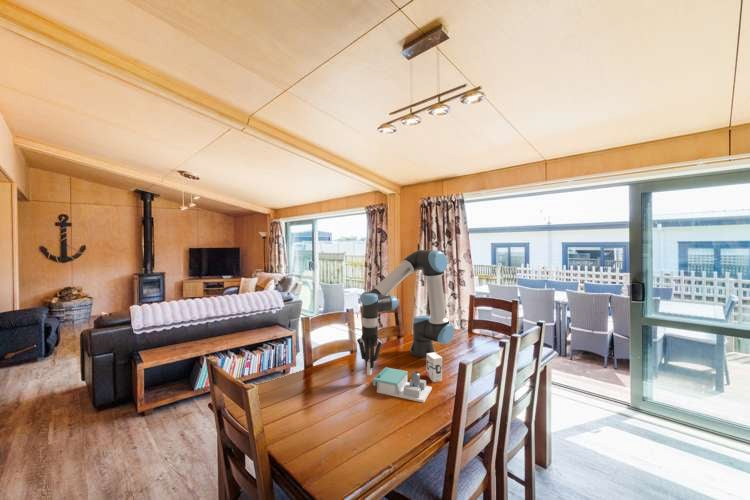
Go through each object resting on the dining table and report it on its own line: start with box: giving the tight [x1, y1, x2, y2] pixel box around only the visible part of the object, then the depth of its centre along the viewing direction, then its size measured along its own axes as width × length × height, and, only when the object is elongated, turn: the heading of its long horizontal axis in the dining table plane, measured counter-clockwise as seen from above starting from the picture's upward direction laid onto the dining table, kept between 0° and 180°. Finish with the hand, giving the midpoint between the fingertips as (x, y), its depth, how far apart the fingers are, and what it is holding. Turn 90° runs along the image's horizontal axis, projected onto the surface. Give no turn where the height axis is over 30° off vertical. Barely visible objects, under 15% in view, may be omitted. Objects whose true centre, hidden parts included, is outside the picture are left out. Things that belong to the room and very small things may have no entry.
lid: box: [372, 366, 409, 387], centre depth 148 cm, size 15×12×4 cm
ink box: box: [425, 351, 443, 383], centre depth 159 cm, size 8×5×12 cm, turn 17°
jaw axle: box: [410, 371, 421, 388], centre depth 143 cm, size 4×4×9 cm
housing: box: [376, 373, 433, 404], centre depth 145 cm, size 14×22×5 cm, turn 66°
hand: (369, 374), depth 152 cm, fingers closed
